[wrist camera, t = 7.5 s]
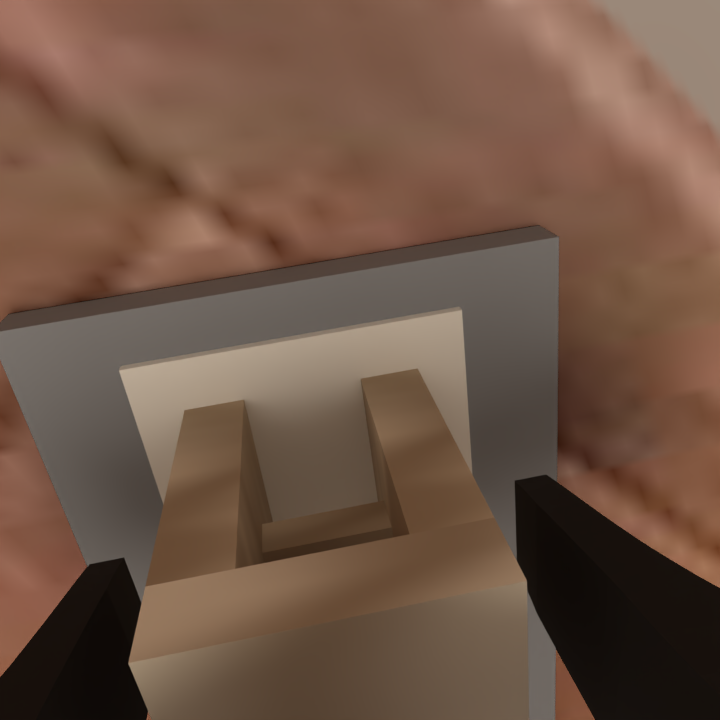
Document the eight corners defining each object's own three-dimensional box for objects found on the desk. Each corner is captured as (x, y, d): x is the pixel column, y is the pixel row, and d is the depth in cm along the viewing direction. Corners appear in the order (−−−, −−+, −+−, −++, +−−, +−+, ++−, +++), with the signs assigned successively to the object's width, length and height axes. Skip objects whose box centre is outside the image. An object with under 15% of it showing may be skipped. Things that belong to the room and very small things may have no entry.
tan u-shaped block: (417, 368, 13) (526, 581, 8) (434, 546, 15) (530, 811, 10) (184, 410, 13) (128, 662, 7) (235, 586, 15) (220, 882, 9)
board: (542, 789, 22) (556, 826, 21) (228, 862, 21) (226, 904, 20) (538, 225, 13) (563, 239, 12) (8, 314, 13) (-16, 337, 12)
